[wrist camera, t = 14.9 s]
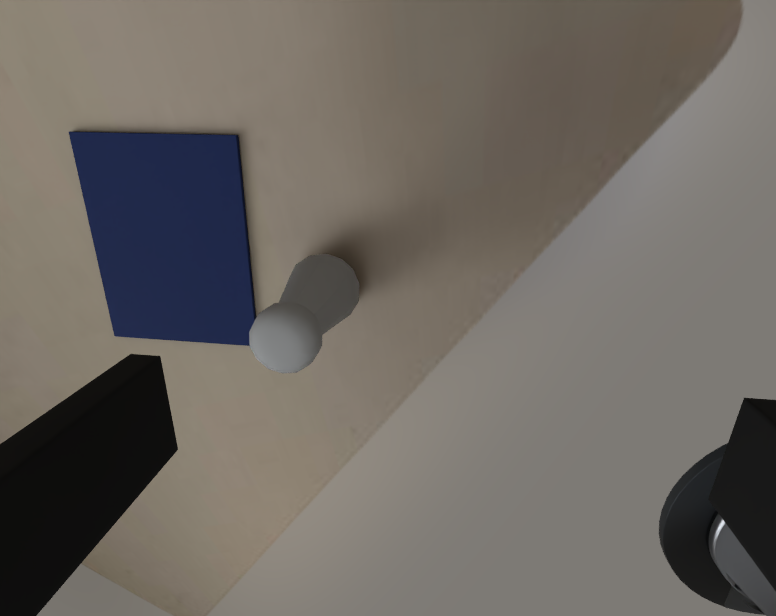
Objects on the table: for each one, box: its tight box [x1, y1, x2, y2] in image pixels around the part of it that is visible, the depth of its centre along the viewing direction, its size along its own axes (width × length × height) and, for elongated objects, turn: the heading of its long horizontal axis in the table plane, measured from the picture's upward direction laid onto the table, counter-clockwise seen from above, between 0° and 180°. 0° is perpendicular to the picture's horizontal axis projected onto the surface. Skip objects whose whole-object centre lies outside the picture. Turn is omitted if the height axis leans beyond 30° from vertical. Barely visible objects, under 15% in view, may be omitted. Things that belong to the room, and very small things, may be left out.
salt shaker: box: [249, 254, 360, 373], centre depth 32 cm, size 6×6×13 cm
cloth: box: [69, 132, 256, 346], centre depth 38 cm, size 14×18×1 cm
